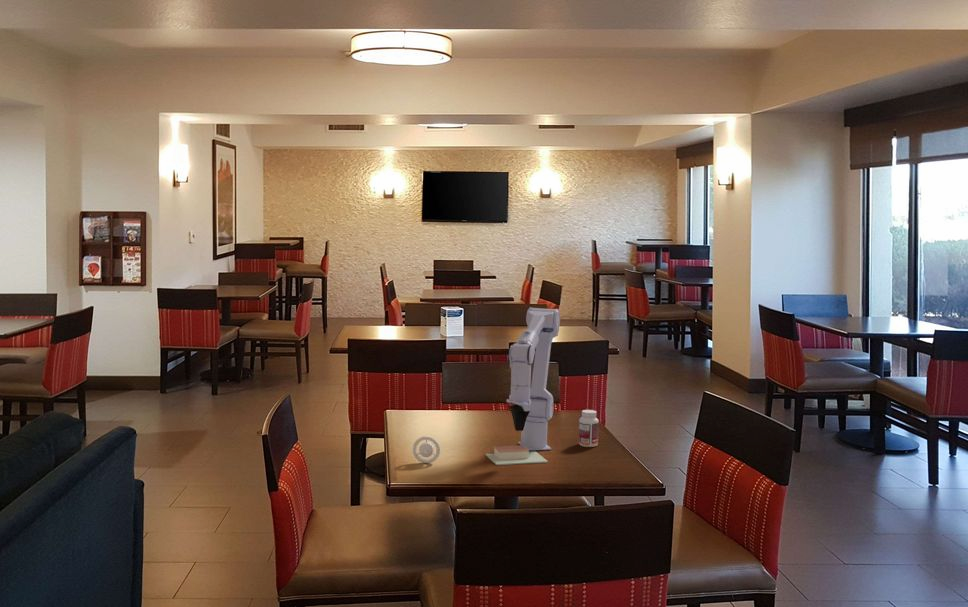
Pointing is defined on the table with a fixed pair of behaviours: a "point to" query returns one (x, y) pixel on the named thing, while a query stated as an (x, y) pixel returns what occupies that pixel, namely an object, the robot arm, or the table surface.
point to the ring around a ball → (426, 449)
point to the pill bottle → (588, 429)
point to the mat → (533, 458)
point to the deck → (511, 452)
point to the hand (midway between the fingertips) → (519, 430)
